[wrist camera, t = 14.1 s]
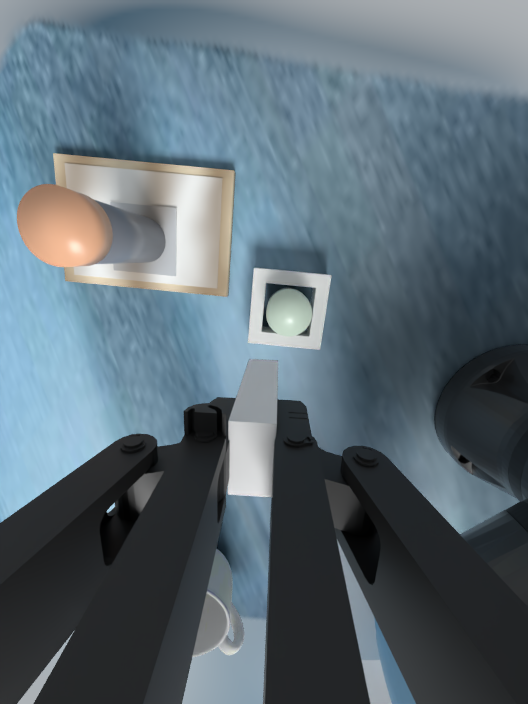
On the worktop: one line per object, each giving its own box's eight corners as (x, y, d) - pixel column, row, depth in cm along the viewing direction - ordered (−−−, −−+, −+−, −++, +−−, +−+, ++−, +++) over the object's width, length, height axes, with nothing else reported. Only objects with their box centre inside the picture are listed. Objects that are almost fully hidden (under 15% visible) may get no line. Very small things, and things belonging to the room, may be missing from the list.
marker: (166, 218, 28) (92, 188, 16) (166, 265, 29) (97, 270, 17) (120, 213, 28) (11, 179, 16) (122, 261, 29) (22, 263, 17)
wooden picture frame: (235, 173, 27) (233, 169, 26) (228, 295, 31) (226, 297, 30) (59, 156, 27) (50, 152, 26) (70, 280, 31) (63, 281, 30)
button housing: (326, 274, 30) (331, 275, 27) (316, 343, 32) (320, 349, 29) (255, 267, 30) (253, 268, 27) (249, 336, 32) (247, 342, 29)
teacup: (141, 550, 41) (111, 617, 33) (202, 512, 39) (185, 575, 31) (207, 611, 44) (193, 685, 36) (268, 579, 42) (266, 651, 34)
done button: (311, 289, 29) (315, 293, 26) (305, 331, 30) (308, 338, 27) (269, 285, 29) (268, 288, 26) (265, 326, 30) (264, 334, 27)
